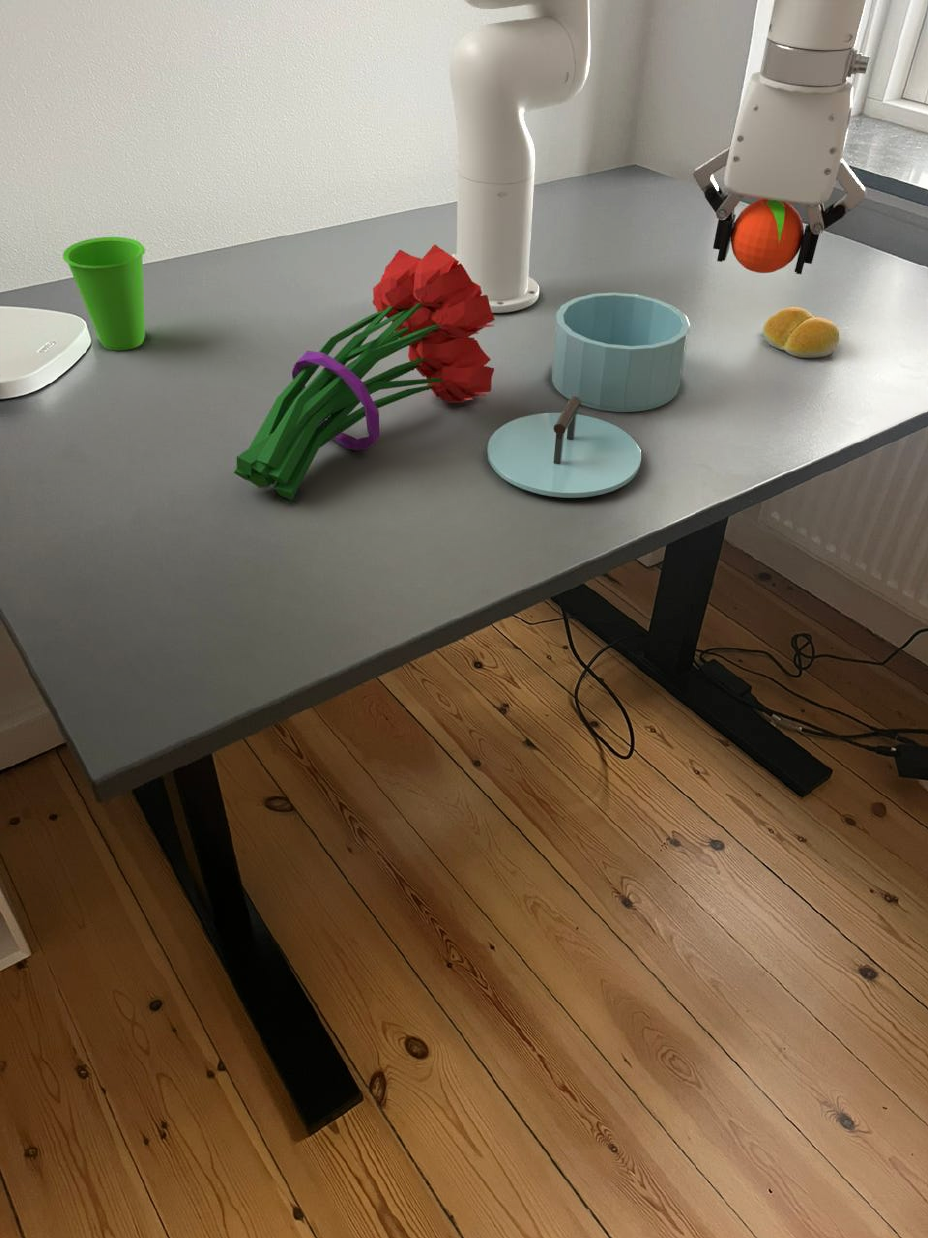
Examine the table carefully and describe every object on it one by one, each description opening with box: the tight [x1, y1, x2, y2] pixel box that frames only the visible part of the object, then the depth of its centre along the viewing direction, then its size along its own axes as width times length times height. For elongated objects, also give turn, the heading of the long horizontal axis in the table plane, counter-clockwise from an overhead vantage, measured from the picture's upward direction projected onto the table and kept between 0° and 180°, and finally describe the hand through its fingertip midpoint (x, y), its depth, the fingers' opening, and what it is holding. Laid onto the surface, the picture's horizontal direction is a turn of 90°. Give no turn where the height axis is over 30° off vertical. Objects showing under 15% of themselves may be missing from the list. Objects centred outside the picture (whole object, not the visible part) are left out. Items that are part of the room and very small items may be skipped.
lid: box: [486, 396, 642, 499], centre depth 102 cm, size 16×16×6 cm
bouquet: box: [233, 244, 496, 501], centre depth 101 cm, size 20×16×30 cm
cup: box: [62, 236, 146, 351], centre depth 119 cm, size 9×9×11 cm
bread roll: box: [762, 306, 840, 359], centre depth 124 cm, size 8×9×4 cm
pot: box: [550, 292, 691, 413], centre depth 114 cm, size 15×15×8 cm
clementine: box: [730, 198, 805, 274], centre depth 99 cm, size 8×7×7 cm
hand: (760, 261), depth 101 cm, fingers closed on clementine, 7 cm apart
